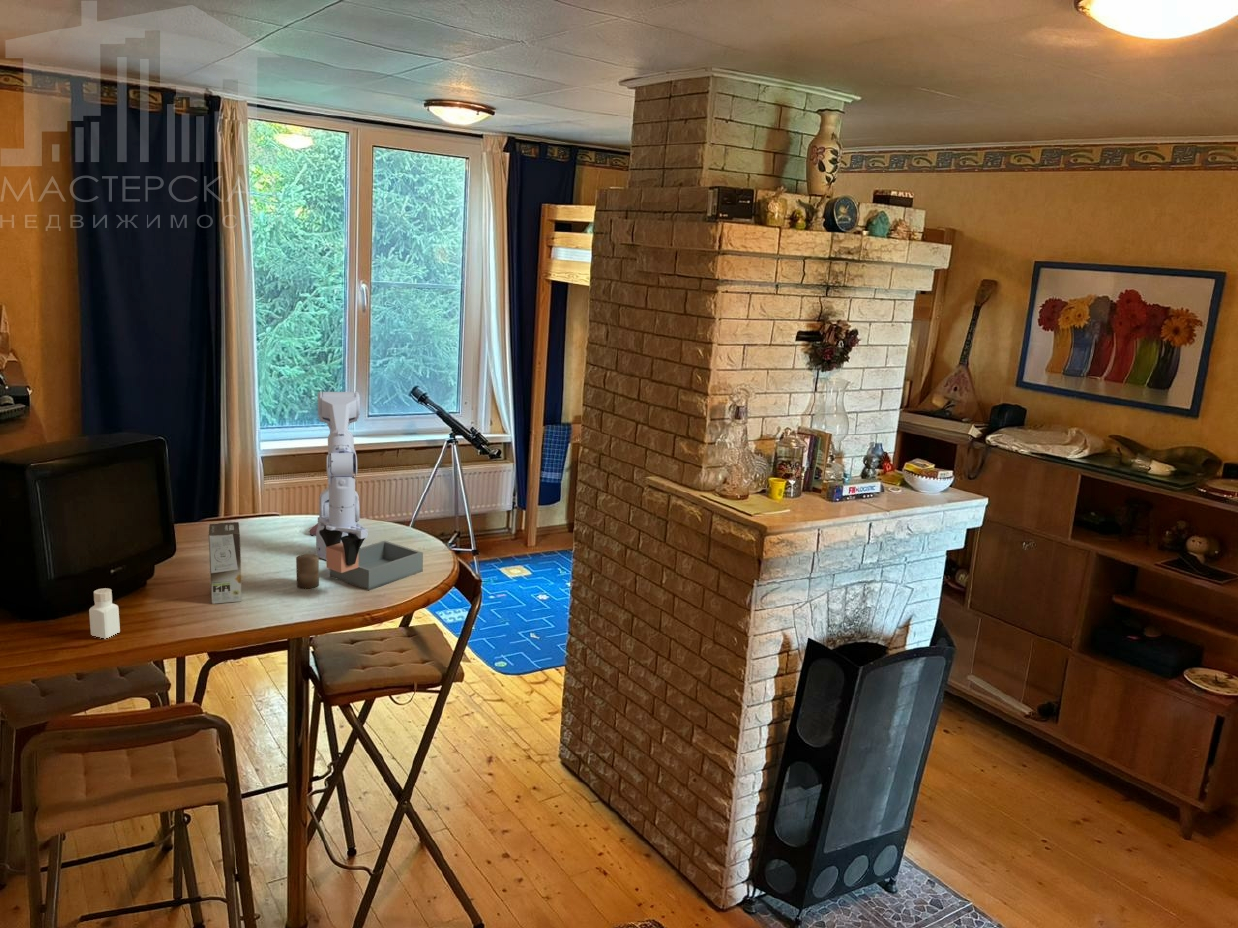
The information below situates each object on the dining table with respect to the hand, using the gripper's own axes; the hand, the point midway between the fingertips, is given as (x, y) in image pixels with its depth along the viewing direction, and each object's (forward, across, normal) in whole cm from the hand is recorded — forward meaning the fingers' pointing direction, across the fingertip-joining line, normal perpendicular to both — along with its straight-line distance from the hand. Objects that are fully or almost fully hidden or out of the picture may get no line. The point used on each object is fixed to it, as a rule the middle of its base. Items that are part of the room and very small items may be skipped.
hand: (342, 561), depth 214 cm
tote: (+8, -5, +15) cm, 18 cm away
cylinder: (+8, -11, -1) cm, 14 cm away
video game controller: (+9, -40, +29) cm, 50 cm away
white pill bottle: (+9, -18, -45) cm, 49 cm away
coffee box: (+9, -19, -17) cm, 27 cm away
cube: (+2, 0, 0) cm, 2 cm away
